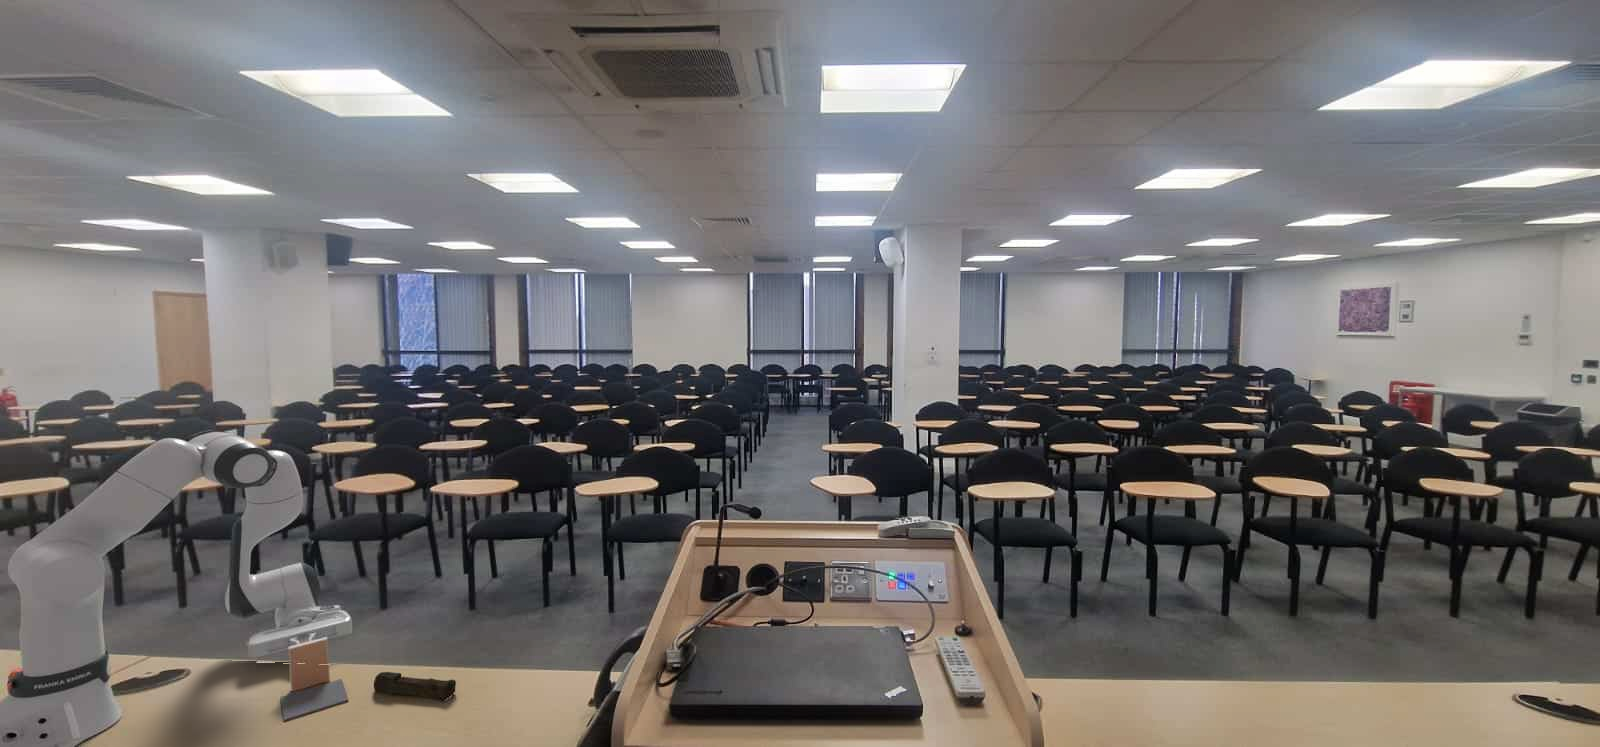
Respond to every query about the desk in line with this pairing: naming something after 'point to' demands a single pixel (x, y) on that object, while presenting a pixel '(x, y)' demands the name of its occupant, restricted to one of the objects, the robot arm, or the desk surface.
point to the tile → (309, 664)
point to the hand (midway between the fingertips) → (304, 646)
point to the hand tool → (413, 686)
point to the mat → (313, 699)
